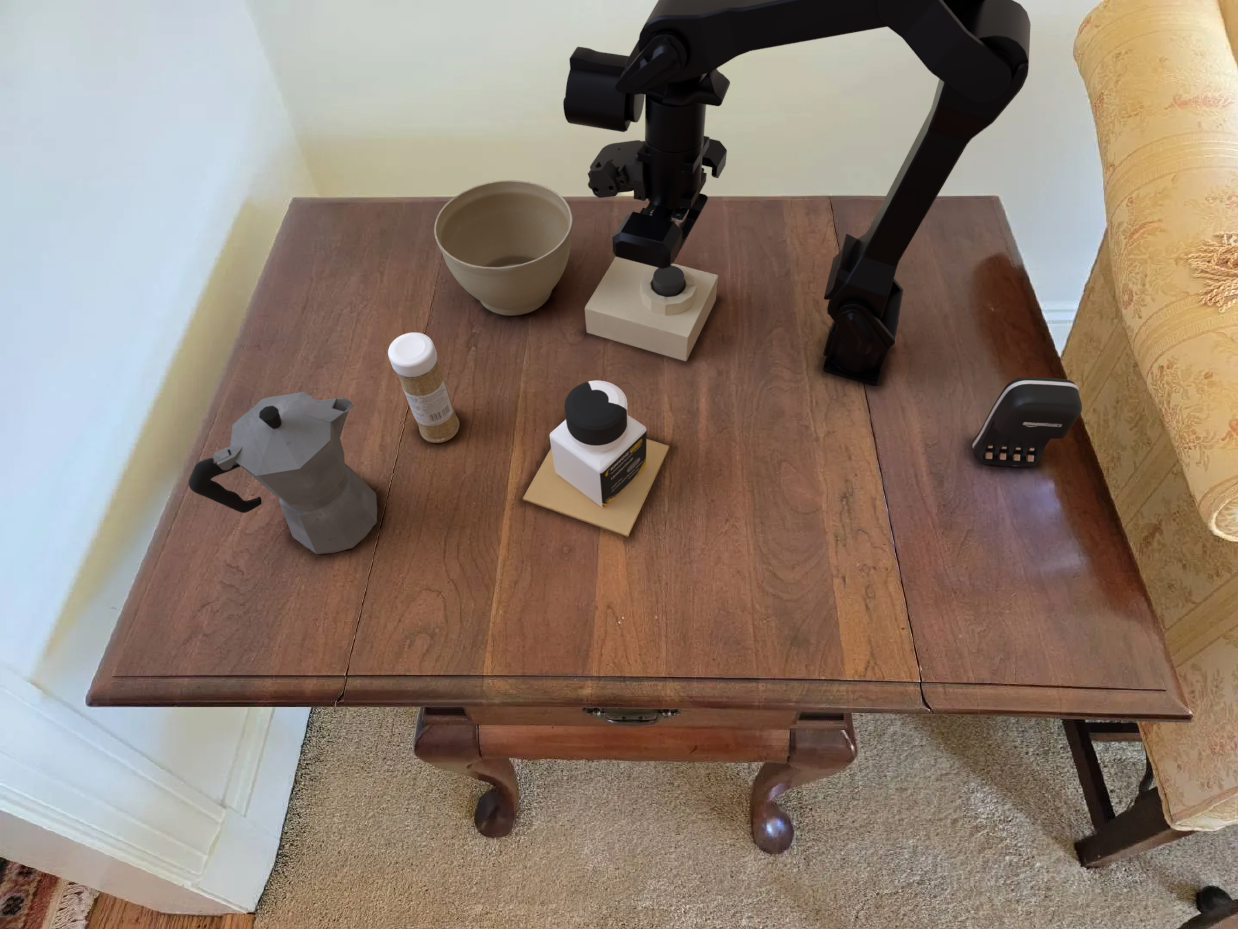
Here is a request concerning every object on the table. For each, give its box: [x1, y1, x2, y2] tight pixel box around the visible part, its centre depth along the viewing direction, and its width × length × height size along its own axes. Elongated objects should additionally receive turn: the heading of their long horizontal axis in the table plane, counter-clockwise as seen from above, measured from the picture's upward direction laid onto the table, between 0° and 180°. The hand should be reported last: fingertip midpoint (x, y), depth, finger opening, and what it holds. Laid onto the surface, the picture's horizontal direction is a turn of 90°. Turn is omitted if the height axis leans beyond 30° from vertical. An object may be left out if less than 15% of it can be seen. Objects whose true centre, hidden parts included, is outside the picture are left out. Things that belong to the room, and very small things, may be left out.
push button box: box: [584, 256, 719, 362], centre depth 94 cm, size 13×11×6 cm
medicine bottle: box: [549, 379, 648, 508], centre depth 78 cm, size 7×7×12 cm
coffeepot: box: [188, 391, 378, 555], centre depth 74 cm, size 15×9×18 cm, turn 123°
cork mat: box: [522, 438, 670, 538], centre depth 83 cm, size 12×12×1 cm
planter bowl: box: [433, 179, 574, 317], centre depth 95 cm, size 16×16×11 cm
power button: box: [653, 265, 684, 297], centre depth 91 cm, size 4×4×2 cm
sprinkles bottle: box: [387, 331, 460, 444], centre depth 82 cm, size 5×5×13 cm
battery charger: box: [971, 376, 1083, 468], centre depth 79 cm, size 7×4×11 cm, turn 84°
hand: (669, 260), depth 88 cm, fingers closed
